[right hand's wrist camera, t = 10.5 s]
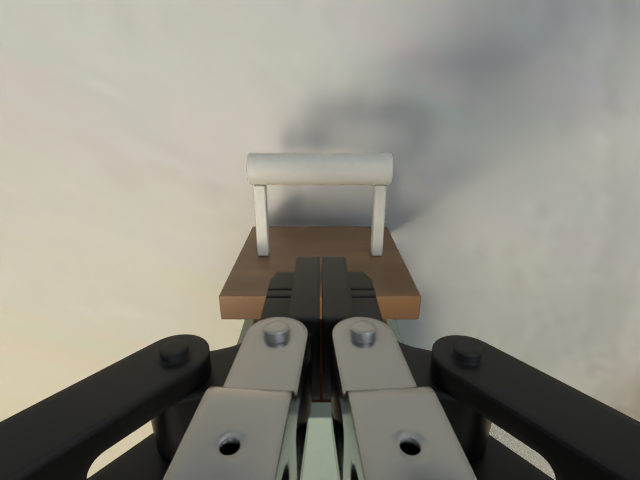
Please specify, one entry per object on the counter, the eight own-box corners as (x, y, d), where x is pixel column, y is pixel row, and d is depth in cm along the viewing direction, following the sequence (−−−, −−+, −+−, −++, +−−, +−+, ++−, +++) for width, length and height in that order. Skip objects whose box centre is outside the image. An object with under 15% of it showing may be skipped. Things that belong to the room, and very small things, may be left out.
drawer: (247, 141, 24) (205, 171, 15) (392, 142, 24) (434, 171, 15) (262, 371, 30) (238, 486, 21) (377, 371, 30) (400, 486, 21)
